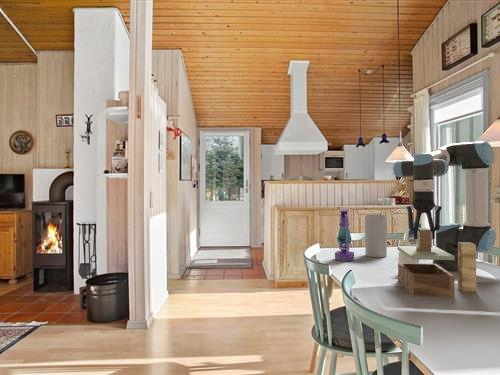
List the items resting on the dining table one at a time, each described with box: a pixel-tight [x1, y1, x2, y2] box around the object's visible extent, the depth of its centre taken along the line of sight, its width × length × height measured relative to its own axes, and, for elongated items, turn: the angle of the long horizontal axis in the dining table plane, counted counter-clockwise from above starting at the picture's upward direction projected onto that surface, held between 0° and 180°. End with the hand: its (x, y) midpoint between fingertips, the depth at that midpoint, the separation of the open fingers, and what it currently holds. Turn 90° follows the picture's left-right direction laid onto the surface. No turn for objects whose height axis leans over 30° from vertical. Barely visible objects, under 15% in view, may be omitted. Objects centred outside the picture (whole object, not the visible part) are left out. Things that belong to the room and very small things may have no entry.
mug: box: [398, 250, 420, 263], centre depth 181 cm, size 12×9×11 cm
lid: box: [396, 227, 455, 261], centre depth 156 cm, size 22×16×10 cm
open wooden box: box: [397, 262, 455, 298], centre depth 155 cm, size 22×16×9 cm
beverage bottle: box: [407, 222, 422, 246], centre depth 232 cm, size 8×8×20 cm
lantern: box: [334, 208, 355, 262], centre depth 220 cm, size 13×12×30 cm
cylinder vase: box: [364, 214, 388, 259], centre depth 231 cm, size 12×12×25 cm
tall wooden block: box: [457, 242, 477, 293], centre depth 151 cm, size 5×5×20 cm
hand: (424, 246), depth 155 cm, fingers closed on lid, 4 cm apart
